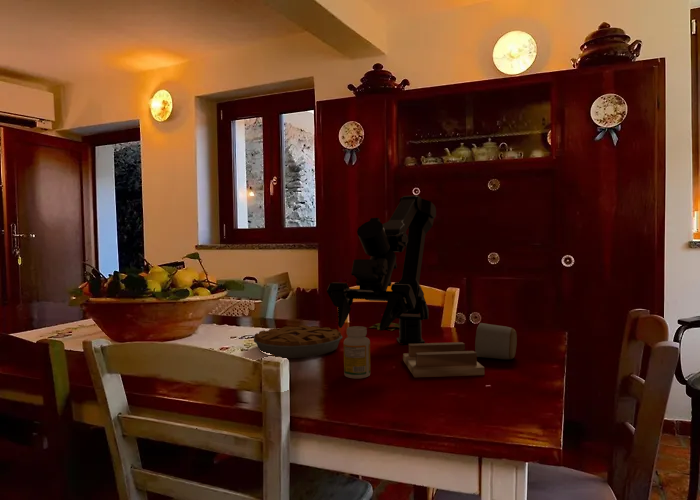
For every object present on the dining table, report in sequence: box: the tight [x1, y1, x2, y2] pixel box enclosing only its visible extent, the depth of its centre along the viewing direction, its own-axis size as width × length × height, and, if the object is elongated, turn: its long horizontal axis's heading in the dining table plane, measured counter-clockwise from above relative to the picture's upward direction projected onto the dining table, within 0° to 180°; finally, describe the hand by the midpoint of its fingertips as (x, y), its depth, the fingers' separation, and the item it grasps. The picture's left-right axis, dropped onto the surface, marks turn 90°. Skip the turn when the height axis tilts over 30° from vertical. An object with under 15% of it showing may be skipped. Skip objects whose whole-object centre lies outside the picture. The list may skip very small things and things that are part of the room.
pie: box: [253, 324, 343, 359], centre depth 128 cm, size 22×22×5 cm
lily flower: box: [367, 313, 399, 331], centre depth 155 cm, size 12×12×5 cm
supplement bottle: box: [343, 325, 371, 380], centre depth 102 cm, size 5×5×10 cm
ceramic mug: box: [474, 322, 518, 361], centre depth 116 cm, size 11×8×8 cm
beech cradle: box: [402, 341, 486, 378], centre depth 107 cm, size 14×14×4 cm
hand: (359, 328), depth 104 cm, fingers open, 9 cm apart
